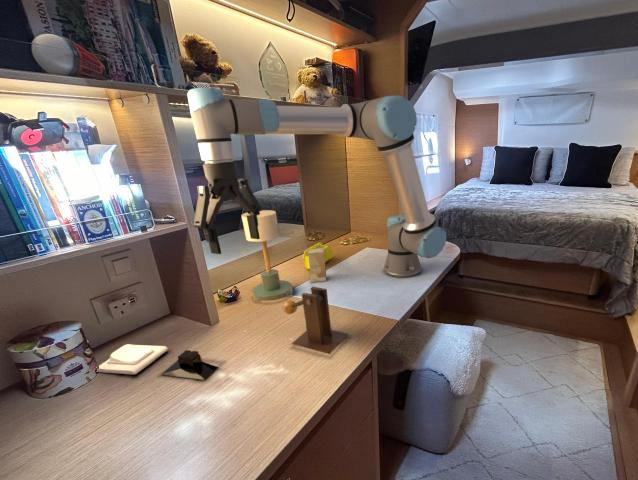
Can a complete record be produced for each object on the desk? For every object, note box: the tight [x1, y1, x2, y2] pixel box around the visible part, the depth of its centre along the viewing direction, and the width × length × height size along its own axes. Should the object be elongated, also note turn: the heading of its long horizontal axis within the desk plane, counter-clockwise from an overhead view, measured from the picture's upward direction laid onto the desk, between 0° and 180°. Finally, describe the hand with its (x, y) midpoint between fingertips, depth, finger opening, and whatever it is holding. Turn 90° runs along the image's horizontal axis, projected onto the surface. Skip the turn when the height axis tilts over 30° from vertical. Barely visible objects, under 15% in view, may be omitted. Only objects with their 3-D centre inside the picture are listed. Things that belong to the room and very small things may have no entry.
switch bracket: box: [290, 286, 349, 355], centre depth 91 cm, size 12×10×16 cm
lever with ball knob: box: [282, 291, 323, 315], centre depth 91 cm, size 13×4×4 cm, turn 64°
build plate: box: [161, 349, 219, 382], centre depth 84 cm, size 12×7×5 cm, turn 78°
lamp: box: [241, 209, 294, 303], centre depth 118 cm, size 14×14×30 cm
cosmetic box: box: [307, 249, 327, 283], centre depth 133 cm, size 6×4×12 cm
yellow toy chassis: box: [302, 241, 333, 270], centre depth 150 cm, size 16×6×8 cm, turn 158°
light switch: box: [96, 343, 169, 375], centre depth 89 cm, size 11×4×13 cm
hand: (237, 245), depth 91 cm, fingers open, 13 cm apart
